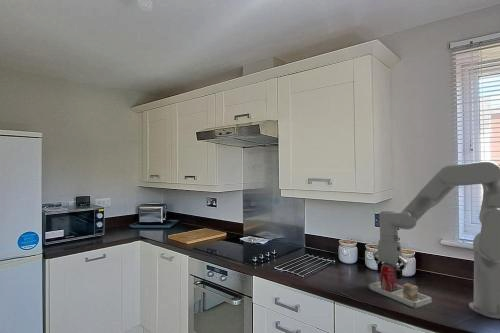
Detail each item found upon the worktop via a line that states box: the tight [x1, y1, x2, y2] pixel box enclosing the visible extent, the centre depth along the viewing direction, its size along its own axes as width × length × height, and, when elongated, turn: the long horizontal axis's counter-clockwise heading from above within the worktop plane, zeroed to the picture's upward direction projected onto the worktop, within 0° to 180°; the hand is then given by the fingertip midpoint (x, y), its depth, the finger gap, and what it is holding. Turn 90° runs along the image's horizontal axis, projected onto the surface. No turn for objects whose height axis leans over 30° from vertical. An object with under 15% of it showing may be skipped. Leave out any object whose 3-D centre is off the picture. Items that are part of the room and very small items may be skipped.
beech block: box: [402, 283, 419, 302], centre depth 129 cm, size 4×4×6 cm
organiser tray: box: [368, 280, 433, 309], centre depth 133 cm, size 22×12×2 cm, turn 29°
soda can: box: [380, 262, 399, 292], centre depth 138 cm, size 7×7×12 cm
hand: (389, 275), depth 138 cm, fingers open, 9 cm apart
